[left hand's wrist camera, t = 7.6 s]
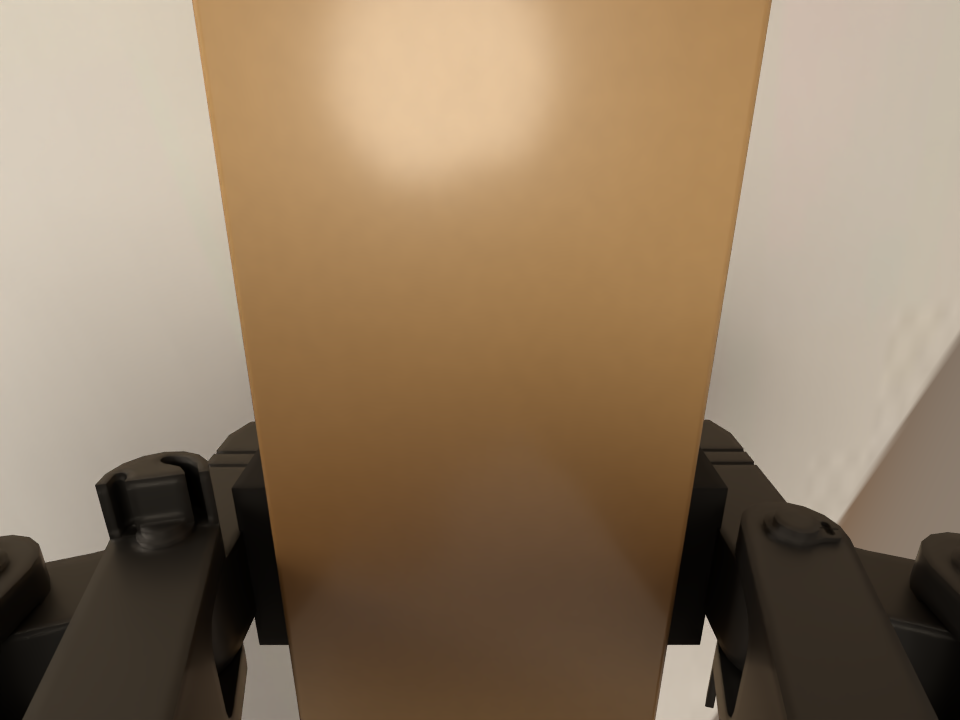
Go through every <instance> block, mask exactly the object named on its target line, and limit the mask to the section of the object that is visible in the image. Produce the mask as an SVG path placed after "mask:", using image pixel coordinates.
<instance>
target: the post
mask: <svg viewBox="0 0 960 720" xmlns="http://www.w3.org/2000/svg"><path fill="white" fill-rule="evenodd" d="M771 2H772V0H192V3H193V9H194V16H195V23H196V29H197V36H198V43H199V49H200V56H201V63H202V69H203V76H204V83H205V89H206V96H207V103H208V109H209V116H210V123H211V129H212V136H213V143H214V149H215V156H216V163H217V169H218V176H219V183H220V189H221V196H222V203H223V209H224V216H225V223H226V229H227V236H228V243H229V249H230V256H231V263H232V269H233V276H234V283H235V289H236V296H237V303H238V309H239V316H240V323H241V329H242V336H243V343H244V349H245V356H246V363H247V369H248V376H249V383H250V389H251V396H252V403H253V409H254V416H255V423H256V429H257V436H258V443H259V449H260V456H261V463H262V469H263V476H264V483H265V489H266V496H267V503H268V509H269V516H270V523H271V529H272V536H273V543H274V549H275V556H276V563H277V569H278V576H279V583H280V589H281V596H282V603H283V609H284V616H285V623H286V629H287V636H288V643H289V649H290V656H291V663H292V669H293V676H294V683H295V689H296V696H297V703H298V709H299V716H300V720H655V717H656V711H657V705H658V699H659V693H660V687H661V680H662V674H663V668H664V662H665V656H666V650H667V643H668V637H669V631H670V625H671V619H672V613H673V606H674V600H675V594H676V588H677V582H678V576H679V569H680V563H681V557H682V551H683V545H684V539H685V532H686V526H687V520H688V514H689V508H690V502H691V495H692V489H693V483H694V477H695V471H696V465H697V458H698V452H699V446H700V440H701V434H702V428H703V421H704V415H705V409H706V403H707V397H708V391H709V384H710V378H711V372H712V366H713V360H714V354H715V347H716V341H717V335H718V329H719V323H720V317H721V310H722V304H723V298H724V292H725V286H726V280H727V273H728V267H729V261H730V255H731V249H732V243H733V236H734V230H735V224H736V218H737V212H738V206H739V199H740V193H741V187H742V181H743V175H744V169H745V162H746V156H747V150H748V144H749V138H750V132H751V125H752V119H753V113H754V107H755V101H756V95H757V88H758V82H759V76H760V70H761V64H762V58H763V51H764V45H765V39H766V33H767V27H768V21H769V14H770V8H771Z"/></svg>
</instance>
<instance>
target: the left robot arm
mask: <svg viewBox="0 0 960 720" xmlns="http://www.w3.org/2000/svg"><path fill="white" fill-rule="evenodd" d="M95 487H96V490H97V494H98V497H99V501H100V505H101V508H102V512H103V515H104V519H105V522H106V526H107V530H108V533H109V537H110V541H109V543H108V545H107V547H106V549H105V550H103V551H100V552H96V553H92V554H87V555H82V556H77V557H72V558H67V559H62V560H57V561H52V562H47V563H45V561H44V558H43V555H42V552H41V549H40V546H39V544H38V543H36V542H35V541H34V540H33V539H31V538H30V537H24V536H16V535H9V536H1V537H0V720H241V716H242V708H243V700H244V692H245V683H246V675H247V662H246V655H245V650H244V645H243V641H244V638H245V636H246V634H247V632H248V630H249V627H250V625H251V623H252V621H253V619H254V616H255V622H256V627H257V633H258V638H259V644H260V645H289V643H288V636H287V629H286V623H285V616H284V609H283V603H282V596H281V589H280V583H279V576H278V569H277V563H276V556H275V549H274V543H273V536H272V529H271V523H270V516H269V509H268V503H267V496H266V489H265V483H264V476H263V469H262V463H261V456H260V449H259V443H258V436H257V429H256V423H255V422H250V423H248V424H247V425H245V426H243V427H242V428H240V429H239V430H237V431H235V432H234V433H232V434H230V435H229V436H228V437H227V439H226V440H225V441H224V442H223V444H222V445H221V446H220V447H219V449H218V450H217V454H214V455H213V456H212V457H211V459H210V460H209V461H207V460H205V459H204V458H203V457H201V456H200V455H198V454H194V453H189V452H184V451H183V452H162V453H157V454H152V455H147V456H143V457H140V458H137V459H135V460H132V461H129V462H127V463H124V464H122V465H120V466H118V467H117V468H115V469H113V470H112V471H110V472H108V473H107V474H105V475H104V476H103V477H102V478H101V479H100V481H99V482H98V483H97V484H96V485H95ZM705 614H706V616H707V619H708V621H709V623H710V625H711V627H712V629H713V632H714V634H715V636H716V638H717V645H716V650H715V655H714V660H713V665H712V670H711V675H710V680H709V686H708V691H707V697H706V704H705V706H706V707H710V708H713V707H714V702H715V697H716V698H717V707H718V715H719V720H960V534H958V533H950V532H946V533H939V534H931V535H929V536H928V537H927V538H926V539H924V540H923V541H922V542H921V545H920V548H919V551H918V554H917V557H916V560H912V559H907V558H902V557H897V556H892V555H887V554H882V553H877V552H872V551H867V550H863V549H859V548H855V547H854V546H853V544H852V542H851V540H850V538H849V537H848V536H847V534H846V533H845V532H844V531H843V529H842V528H841V527H840V526H839V525H838V524H836V523H835V522H833V521H832V520H830V519H829V518H827V517H826V516H825V515H823V514H820V513H818V512H816V511H813V510H811V509H809V508H806V507H804V506H799V505H795V504H791V503H787V502H786V501H785V500H784V498H783V497H782V496H781V495H780V494H779V492H778V491H777V490H776V489H775V487H774V486H773V485H772V484H771V482H770V481H769V480H768V479H767V477H766V476H765V475H764V474H763V472H762V471H761V470H760V469H759V467H758V466H757V465H754V461H753V460H752V459H751V458H750V456H749V455H748V454H747V453H746V452H744V451H743V448H742V446H741V445H740V444H739V443H738V441H737V440H736V439H735V438H734V436H733V435H732V434H731V433H730V432H728V431H726V430H725V429H723V428H722V427H720V426H718V425H717V424H715V423H713V422H712V421H710V420H704V421H703V428H702V434H701V440H700V446H699V452H698V458H697V465H696V471H695V477H694V483H693V489H692V495H691V502H690V508H689V514H688V520H687V526H686V532H685V539H684V545H683V551H682V557H681V563H680V569H679V576H678V582H677V588H676V594H675V600H674V606H673V613H672V619H671V625H670V631H669V637H668V643H667V645H700V641H701V636H702V630H703V625H704V619H705Z"/></svg>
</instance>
